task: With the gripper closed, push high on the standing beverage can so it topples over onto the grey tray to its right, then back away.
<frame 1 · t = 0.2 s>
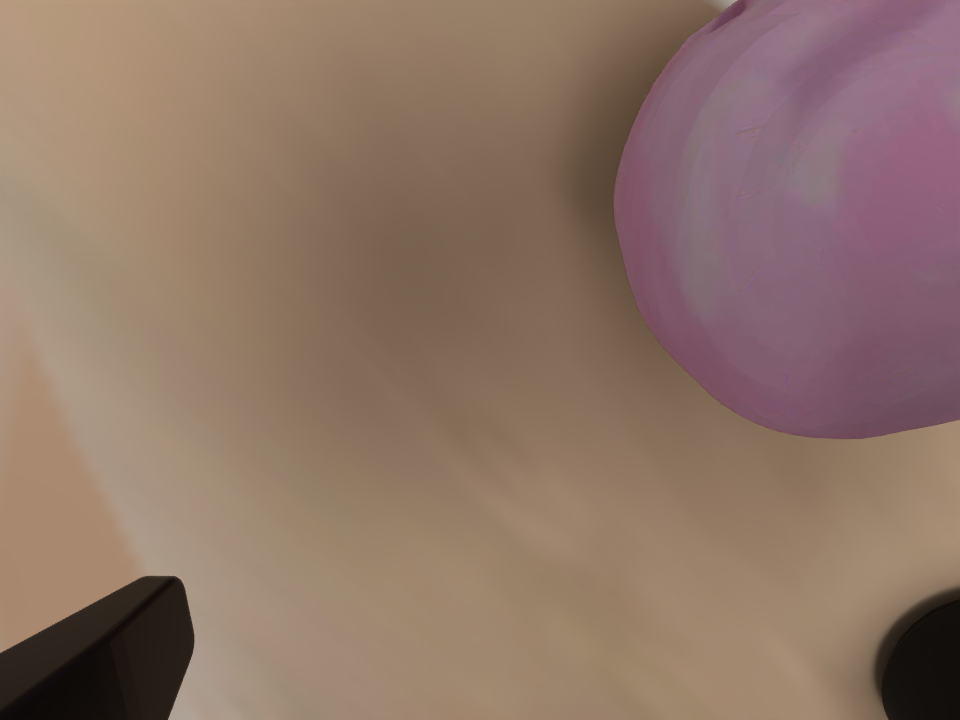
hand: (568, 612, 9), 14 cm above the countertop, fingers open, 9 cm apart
cupcake: (761, 171, 21), on the countertop
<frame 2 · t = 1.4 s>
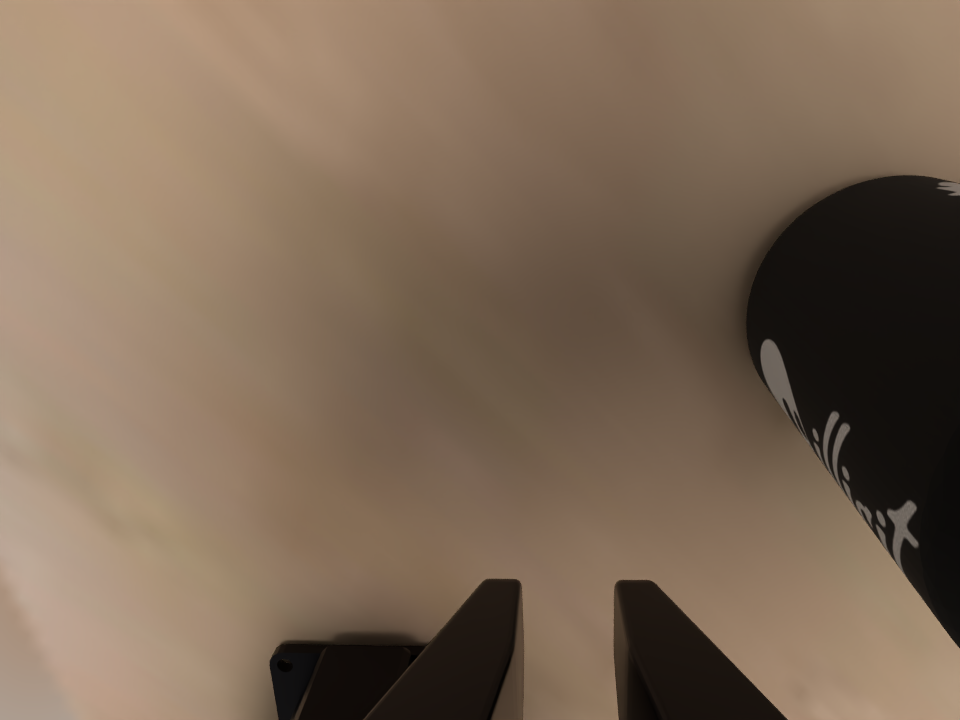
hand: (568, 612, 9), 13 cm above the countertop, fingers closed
beverage can: (867, 301, 20), on the countertop
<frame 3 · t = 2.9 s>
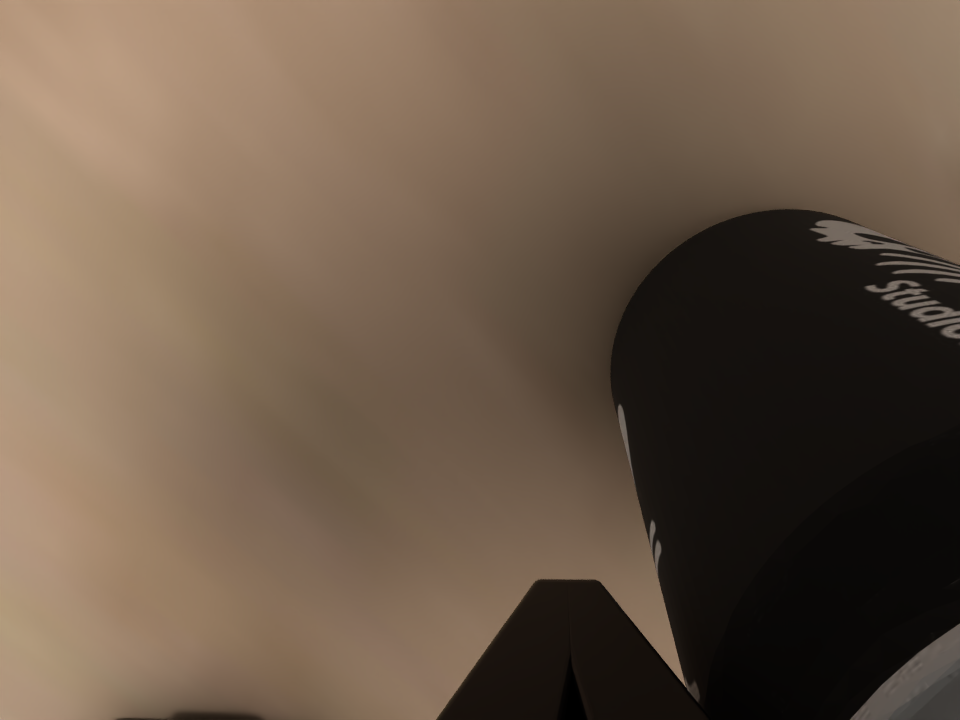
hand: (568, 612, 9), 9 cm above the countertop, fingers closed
beverage can: (755, 352, 17), on the countertop, touching gripper
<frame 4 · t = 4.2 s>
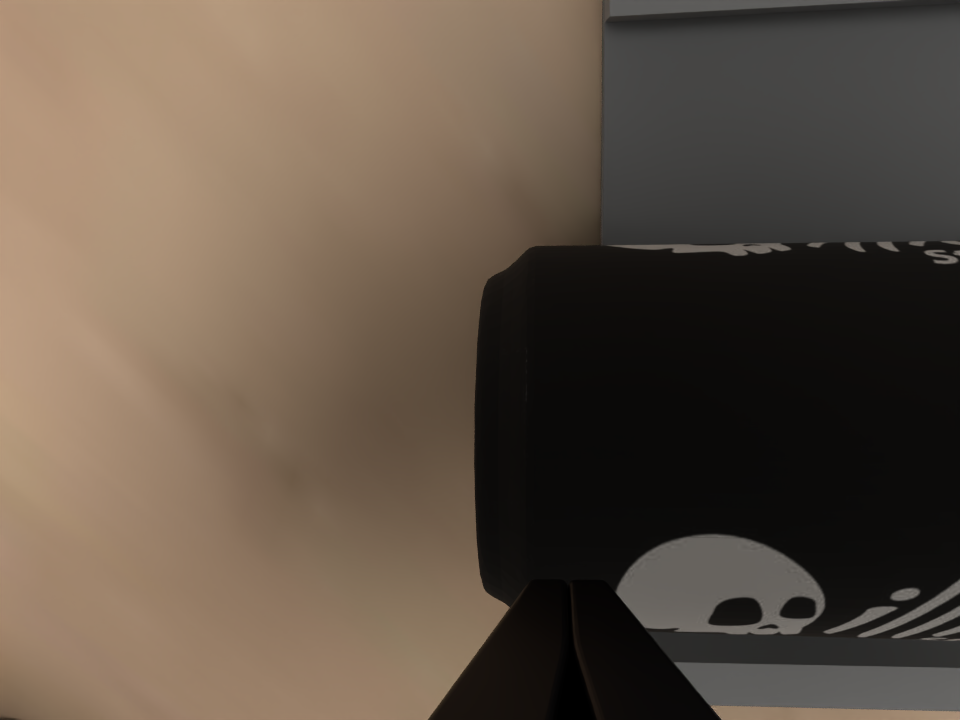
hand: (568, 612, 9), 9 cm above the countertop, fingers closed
grey tray: (880, 351, 17), on the countertop
beverage can: (476, 432, 14), point 4 cm above the countertop, touching grey tray
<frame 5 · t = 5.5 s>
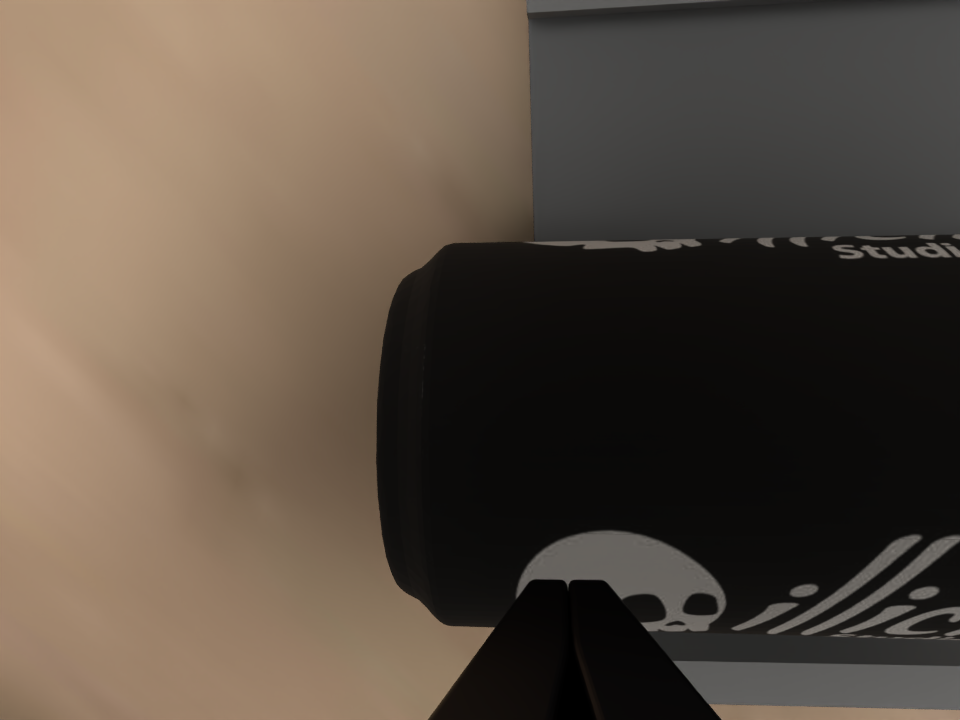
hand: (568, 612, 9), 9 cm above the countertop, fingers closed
grey tray: (817, 348, 17), on the countertop
beverage can: (398, 430, 14), point 4 cm above the countertop, touching grey tray
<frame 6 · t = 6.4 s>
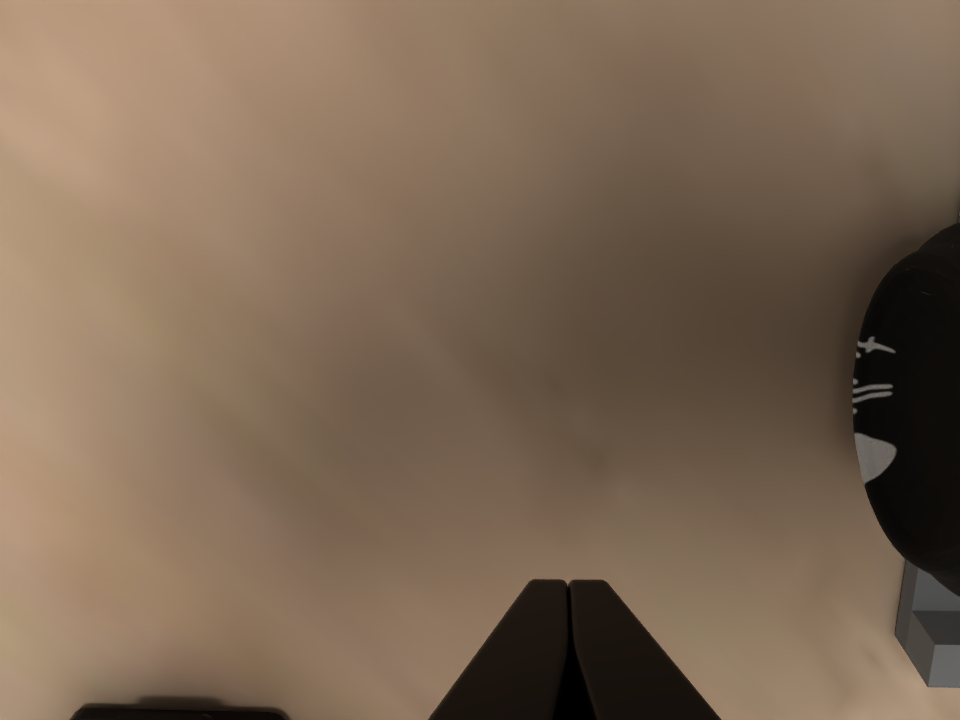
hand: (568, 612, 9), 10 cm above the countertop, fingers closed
beverage can: (899, 410, 13), point 4 cm above the countertop, touching grey tray
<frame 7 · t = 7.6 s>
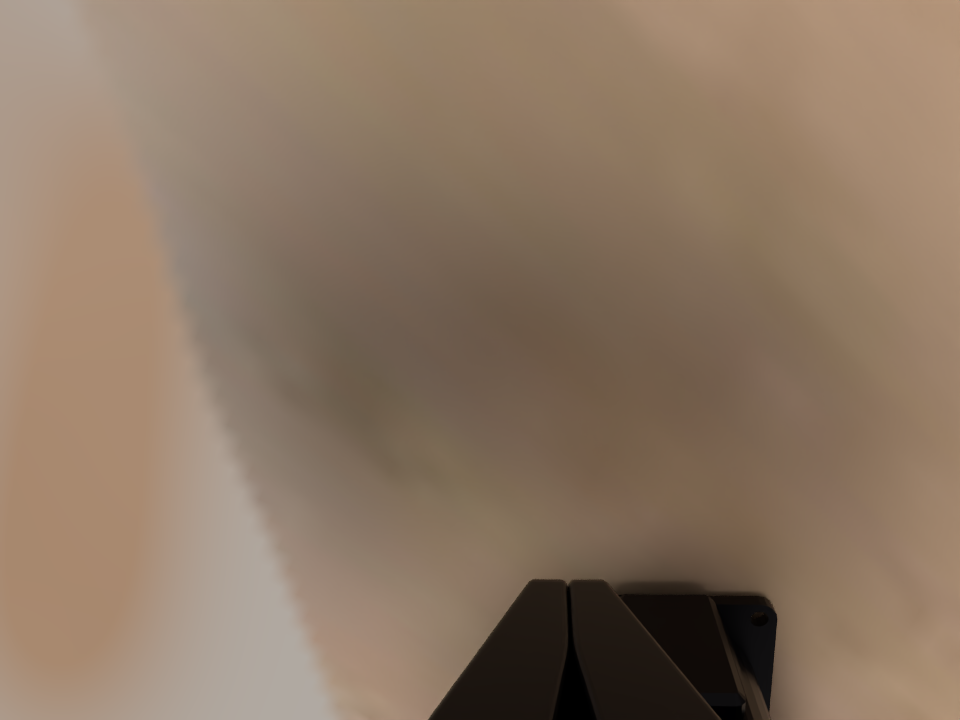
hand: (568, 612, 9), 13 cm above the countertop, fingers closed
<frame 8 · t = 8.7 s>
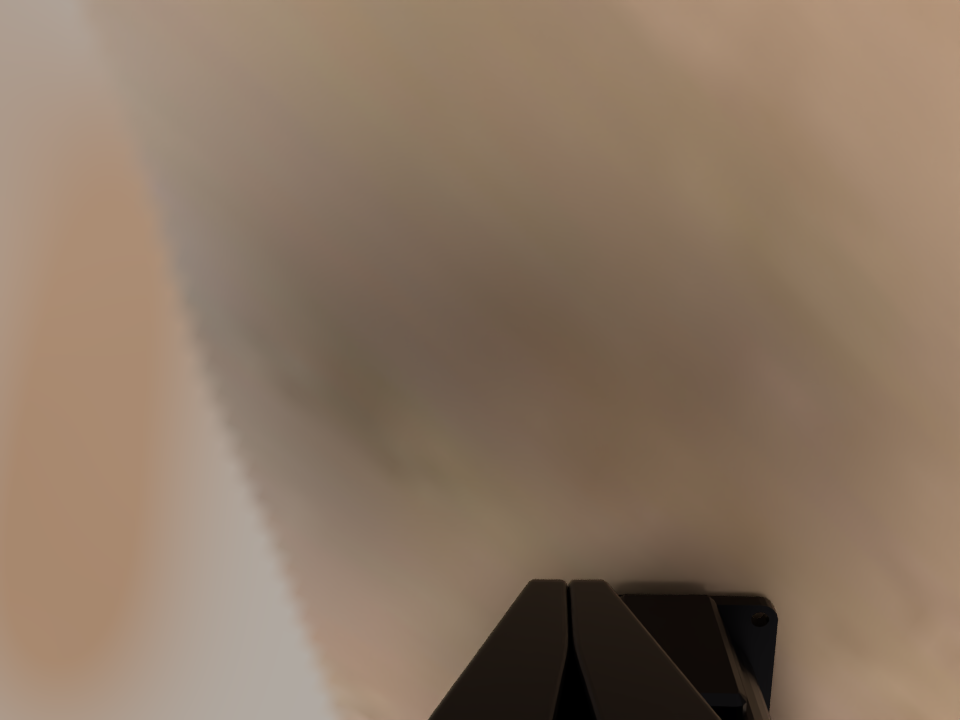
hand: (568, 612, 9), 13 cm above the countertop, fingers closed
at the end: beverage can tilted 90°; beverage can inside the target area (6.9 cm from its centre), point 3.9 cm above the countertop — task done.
